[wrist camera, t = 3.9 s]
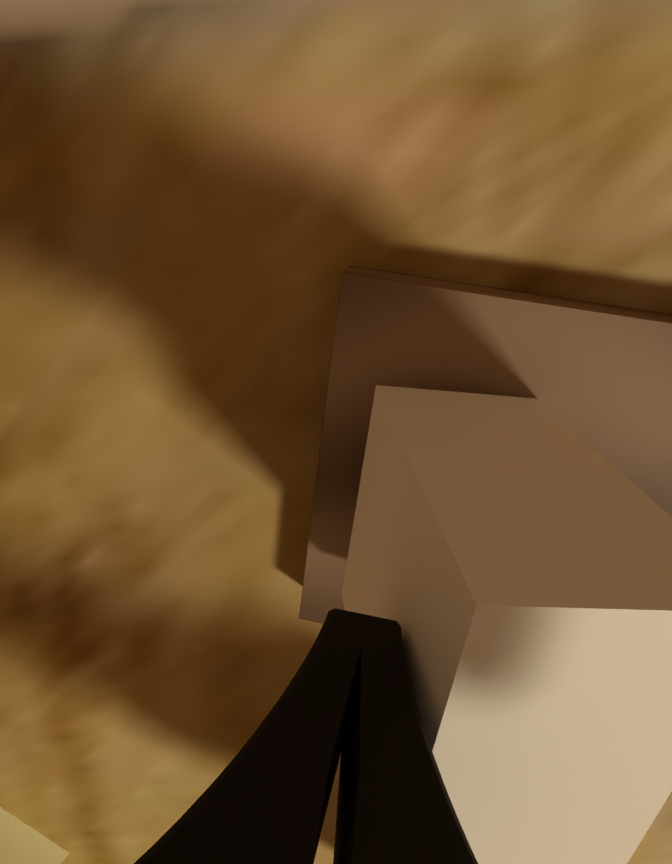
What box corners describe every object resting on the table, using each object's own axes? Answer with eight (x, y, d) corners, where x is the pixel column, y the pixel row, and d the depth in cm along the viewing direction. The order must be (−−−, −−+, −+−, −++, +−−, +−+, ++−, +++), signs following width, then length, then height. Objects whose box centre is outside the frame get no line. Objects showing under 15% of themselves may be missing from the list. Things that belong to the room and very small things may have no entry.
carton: (477, 596, 18) (612, 886, 11) (341, 592, 17) (387, 897, 10) (537, 398, 15) (780, 613, 8) (375, 385, 14) (476, 605, 7)
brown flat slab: (747, 680, 19) (771, 717, 18) (307, 590, 21) (298, 618, 19) (950, 357, 14) (1005, 374, 13) (349, 266, 16) (341, 273, 14)
